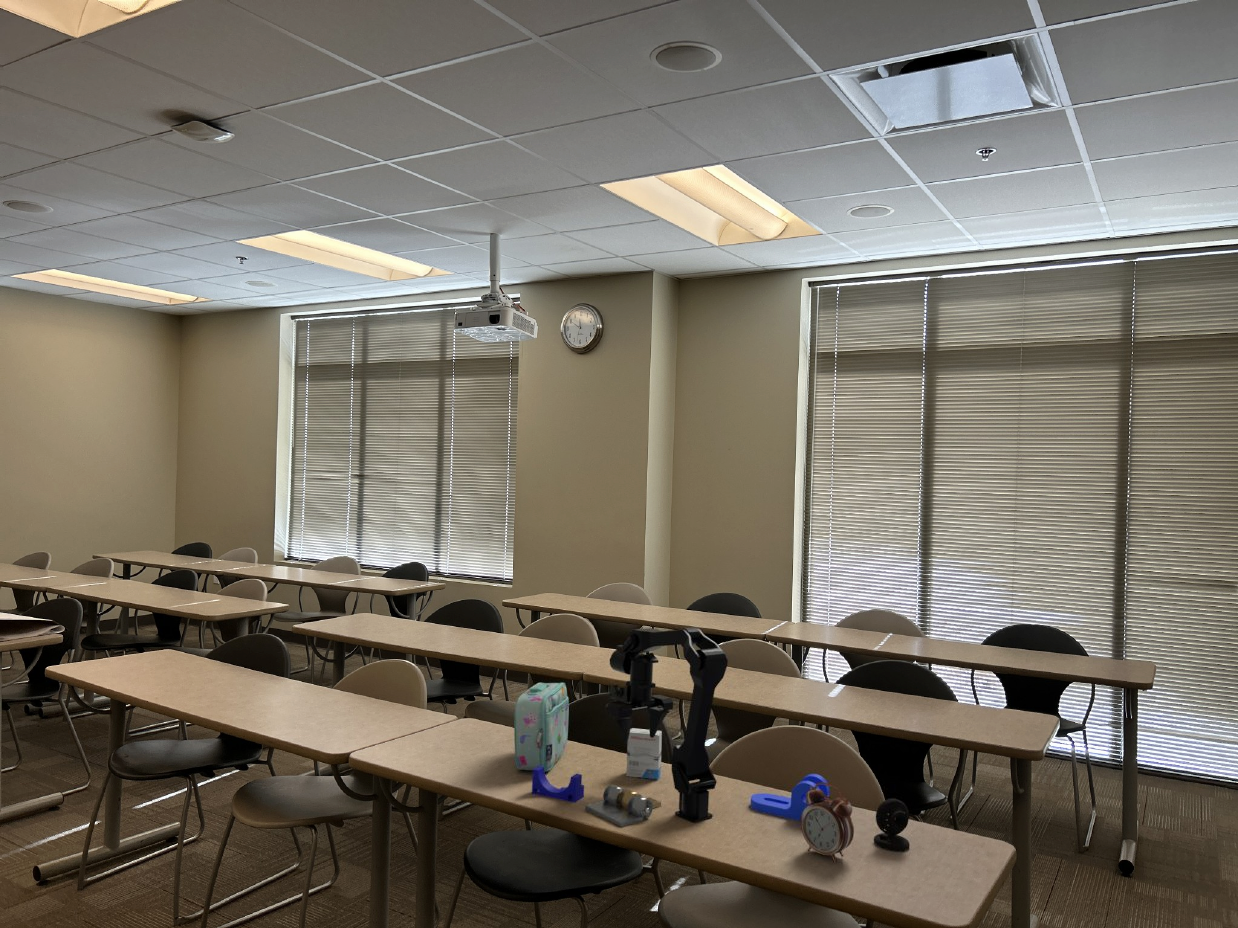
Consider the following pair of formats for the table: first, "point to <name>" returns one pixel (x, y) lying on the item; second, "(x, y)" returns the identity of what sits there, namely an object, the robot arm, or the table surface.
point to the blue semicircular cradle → (565, 793)
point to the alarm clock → (827, 822)
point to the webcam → (892, 825)
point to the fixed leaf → (621, 808)
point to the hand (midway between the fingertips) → (638, 739)
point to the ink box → (644, 754)
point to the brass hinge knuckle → (628, 794)
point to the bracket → (789, 799)
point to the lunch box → (541, 726)
